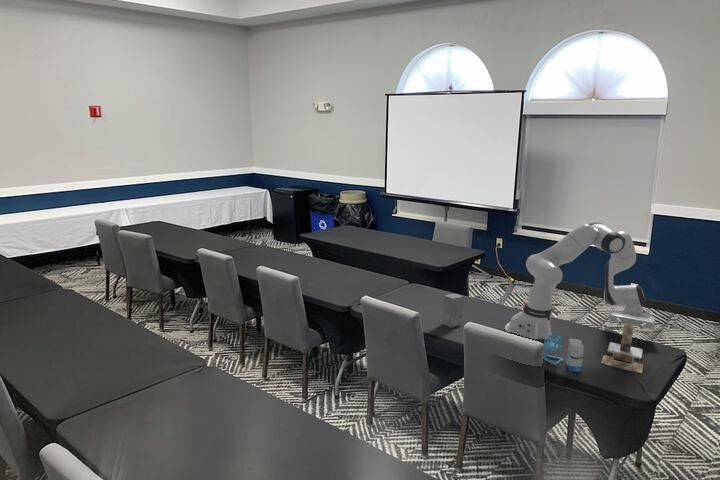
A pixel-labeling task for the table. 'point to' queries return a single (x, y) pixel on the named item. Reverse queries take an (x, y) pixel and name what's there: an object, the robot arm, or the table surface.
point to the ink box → (575, 355)
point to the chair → (552, 348)
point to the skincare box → (452, 310)
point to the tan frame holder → (622, 365)
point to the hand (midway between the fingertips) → (630, 325)
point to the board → (633, 352)
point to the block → (627, 337)
